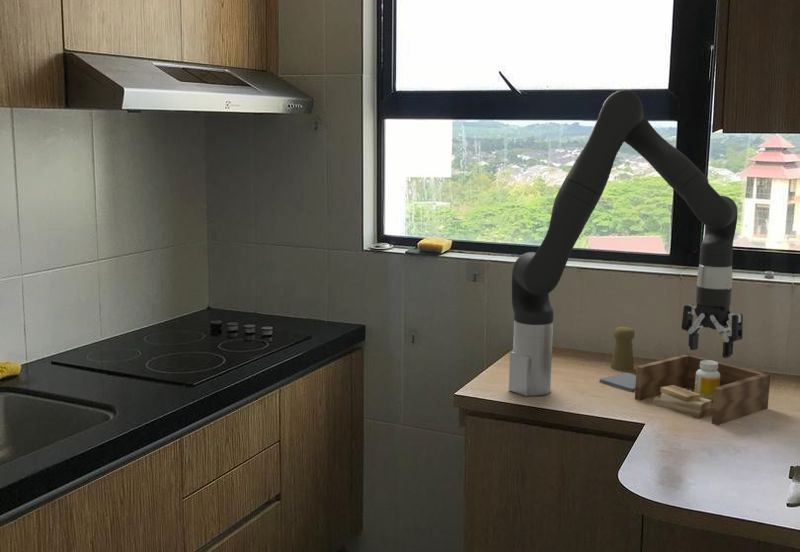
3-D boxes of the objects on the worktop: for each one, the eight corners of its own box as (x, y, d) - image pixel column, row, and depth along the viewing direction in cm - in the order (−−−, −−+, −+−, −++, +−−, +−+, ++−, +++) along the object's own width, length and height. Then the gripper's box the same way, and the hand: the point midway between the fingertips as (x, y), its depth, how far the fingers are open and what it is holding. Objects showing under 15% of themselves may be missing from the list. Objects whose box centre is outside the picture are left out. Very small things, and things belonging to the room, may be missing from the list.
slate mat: (631, 392, 213) (632, 388, 212) (599, 382, 220) (599, 378, 220) (657, 384, 219) (657, 381, 218) (625, 375, 226) (625, 372, 226)
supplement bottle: (688, 400, 207) (691, 360, 205) (706, 397, 209) (708, 358, 207) (705, 407, 202) (708, 366, 200) (723, 404, 204) (726, 363, 203)
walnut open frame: (717, 425, 190) (720, 389, 188) (634, 399, 207) (636, 366, 206) (767, 408, 201) (770, 374, 200) (685, 385, 219) (687, 353, 217)
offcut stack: (698, 418, 194) (699, 400, 193) (652, 404, 203) (654, 387, 203) (713, 413, 197) (714, 395, 197) (668, 400, 207) (669, 382, 206)
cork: (636, 371, 230) (639, 330, 228) (613, 371, 230) (615, 329, 228) (631, 365, 236) (633, 324, 234) (608, 364, 236) (610, 324, 234)
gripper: (677, 281, 204) (673, 349, 207) (733, 291, 193) (728, 362, 196) (696, 278, 209) (692, 344, 212) (752, 287, 198) (747, 357, 201)
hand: (709, 353), depth 204 cm, fingers open, 8 cm apart
